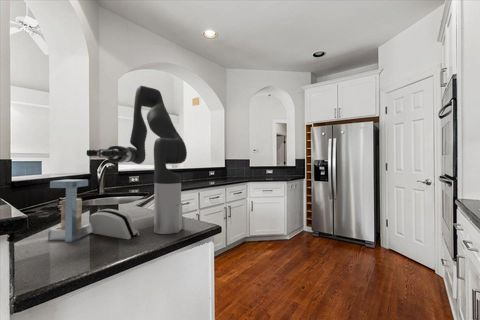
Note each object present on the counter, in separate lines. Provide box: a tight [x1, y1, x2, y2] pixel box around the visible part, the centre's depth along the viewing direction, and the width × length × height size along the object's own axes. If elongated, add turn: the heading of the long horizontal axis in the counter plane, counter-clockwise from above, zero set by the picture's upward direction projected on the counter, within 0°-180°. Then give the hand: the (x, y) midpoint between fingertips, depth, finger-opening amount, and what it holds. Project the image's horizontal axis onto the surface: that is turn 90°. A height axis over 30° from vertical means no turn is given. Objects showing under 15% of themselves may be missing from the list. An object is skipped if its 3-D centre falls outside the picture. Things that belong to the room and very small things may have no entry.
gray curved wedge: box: [88, 208, 140, 240], centre depth 81 cm, size 17×5×10 cm, turn 67°
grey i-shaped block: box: [47, 179, 93, 243], centre depth 79 cm, size 9×11×18 cm
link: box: [60, 198, 83, 230], centre depth 80 cm, size 4×4×12 cm
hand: (99, 152), depth 92 cm, fingers open, 8 cm apart
